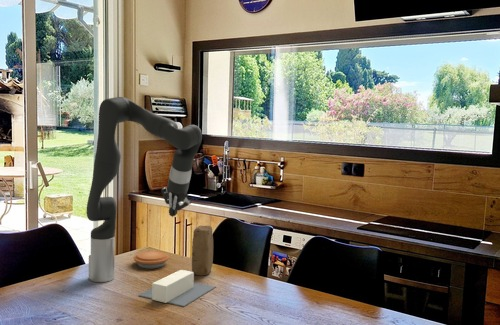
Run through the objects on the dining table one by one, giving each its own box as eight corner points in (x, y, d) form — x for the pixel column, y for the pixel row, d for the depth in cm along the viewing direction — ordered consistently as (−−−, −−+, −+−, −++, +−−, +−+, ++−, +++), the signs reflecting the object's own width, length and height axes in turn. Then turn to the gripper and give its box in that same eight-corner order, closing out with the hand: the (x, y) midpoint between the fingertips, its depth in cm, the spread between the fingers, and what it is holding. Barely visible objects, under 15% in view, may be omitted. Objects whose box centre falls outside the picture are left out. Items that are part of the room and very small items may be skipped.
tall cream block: (152, 283, 163) (180, 269, 180) (152, 299, 164) (180, 284, 180) (166, 286, 161) (193, 272, 177) (165, 302, 161) (193, 287, 177)
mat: (138, 295, 168) (138, 294, 168) (173, 278, 188) (173, 277, 188) (184, 306, 159) (184, 305, 159) (215, 287, 179) (215, 286, 179)
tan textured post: (206, 277, 191) (207, 230, 189) (189, 275, 192) (190, 228, 191) (214, 269, 201) (215, 224, 199) (198, 267, 203) (199, 223, 201)
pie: (175, 265, 205) (175, 254, 205) (146, 272, 194) (146, 261, 193) (155, 257, 216) (156, 247, 215) (126, 264, 204) (126, 253, 204)
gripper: (200, 181, 163) (192, 219, 172) (172, 165, 168) (165, 202, 176) (188, 189, 157) (180, 228, 166) (158, 172, 162) (152, 210, 170)
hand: (172, 215), depth 171 cm, fingers closed
